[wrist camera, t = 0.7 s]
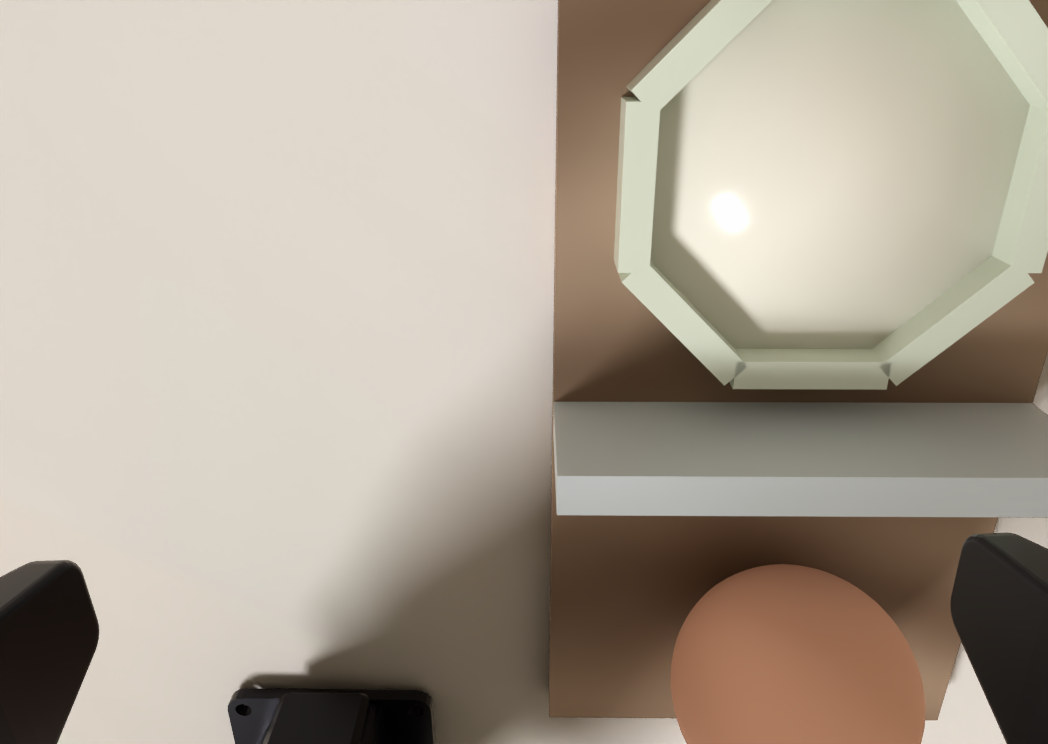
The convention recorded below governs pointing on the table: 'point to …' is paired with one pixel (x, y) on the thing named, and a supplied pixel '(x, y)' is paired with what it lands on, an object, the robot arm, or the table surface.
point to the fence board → (745, 435)
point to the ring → (835, 183)
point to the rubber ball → (794, 664)
